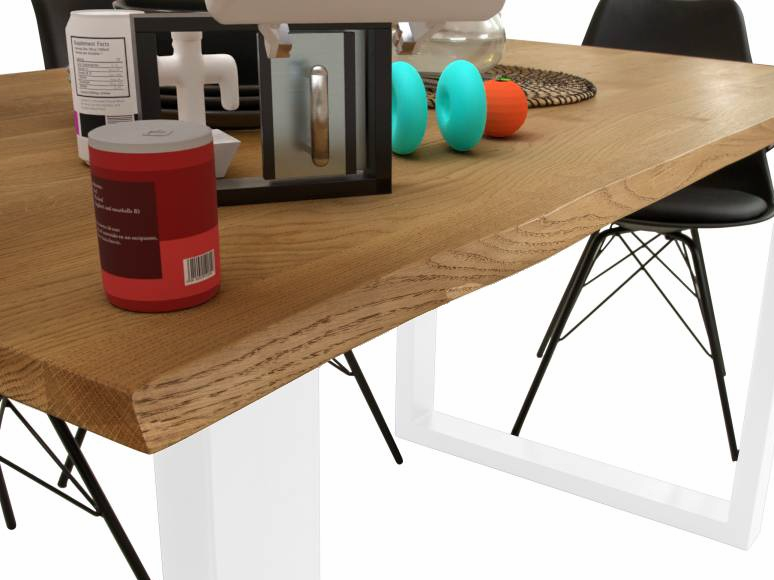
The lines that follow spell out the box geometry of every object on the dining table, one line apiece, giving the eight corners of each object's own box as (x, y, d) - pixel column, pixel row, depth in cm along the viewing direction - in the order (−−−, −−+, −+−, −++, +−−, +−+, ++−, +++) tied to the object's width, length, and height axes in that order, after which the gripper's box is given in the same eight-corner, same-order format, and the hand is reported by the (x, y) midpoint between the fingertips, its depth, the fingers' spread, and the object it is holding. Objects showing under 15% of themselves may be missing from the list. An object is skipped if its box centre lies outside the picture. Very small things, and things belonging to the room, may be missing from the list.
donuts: (375, 145, 115) (375, 56, 112) (457, 141, 119) (459, 54, 115) (401, 163, 107) (402, 67, 103) (489, 158, 110) (492, 65, 106)
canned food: (224, 272, 72) (215, 118, 68) (219, 311, 65) (209, 141, 61) (112, 276, 71) (97, 119, 67) (95, 317, 63) (76, 143, 60)
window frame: (150, 211, 87) (133, 17, 81) (145, 200, 90) (129, 13, 85) (391, 193, 95) (392, 14, 89) (378, 183, 98) (378, 11, 93)
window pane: (274, 191, 87) (268, 38, 82) (262, 178, 91) (256, 32, 87) (370, 184, 90) (369, 36, 85) (354, 172, 94) (352, 31, 90)
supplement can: (66, 159, 105) (50, 10, 100) (140, 149, 110) (128, 8, 105) (100, 173, 100) (85, 16, 94) (176, 162, 105) (165, 13, 100)
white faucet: (253, 177, 99) (246, 20, 94) (157, 187, 95) (144, 22, 90) (229, 163, 105) (221, 14, 100) (138, 171, 101) (125, 16, 96)
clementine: (487, 127, 127) (489, 70, 125) (538, 133, 124) (541, 75, 122) (460, 138, 120) (461, 78, 118) (513, 144, 118) (516, 82, 115)
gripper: (528, -133, 65) (465, 13, 76) (205, -149, 57) (190, 15, 69) (556, -58, 62) (487, 80, 74) (223, -64, 55) (205, 90, 67)
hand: (341, 49), depth 72 cm, fingers open, 8 cm apart
